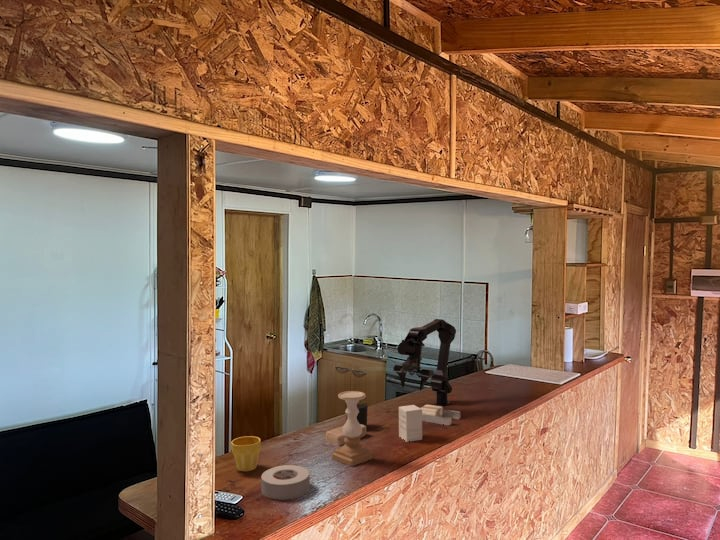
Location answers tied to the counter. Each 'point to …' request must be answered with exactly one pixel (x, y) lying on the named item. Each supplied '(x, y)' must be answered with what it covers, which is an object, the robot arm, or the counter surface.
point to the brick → (340, 435)
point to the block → (432, 410)
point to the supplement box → (410, 423)
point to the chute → (442, 417)
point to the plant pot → (246, 452)
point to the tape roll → (285, 482)
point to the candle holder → (352, 433)
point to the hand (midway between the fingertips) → (411, 389)
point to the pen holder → (361, 414)
